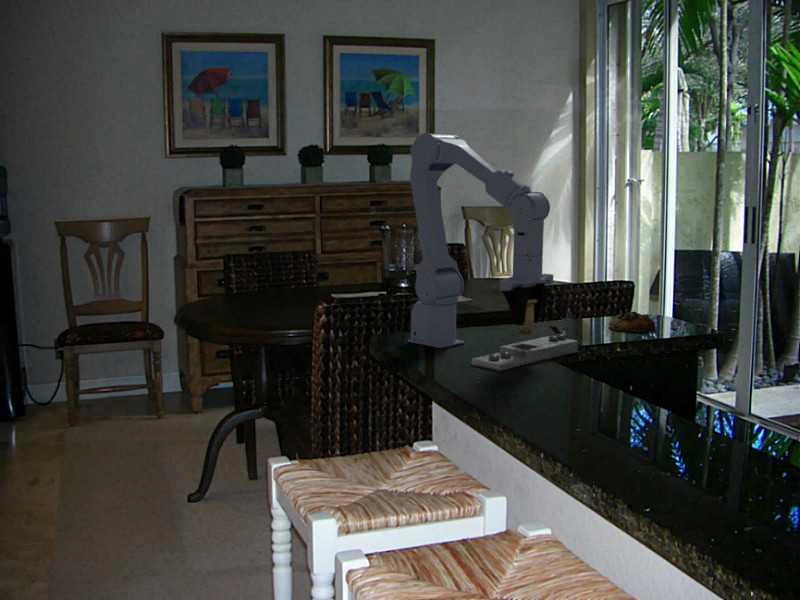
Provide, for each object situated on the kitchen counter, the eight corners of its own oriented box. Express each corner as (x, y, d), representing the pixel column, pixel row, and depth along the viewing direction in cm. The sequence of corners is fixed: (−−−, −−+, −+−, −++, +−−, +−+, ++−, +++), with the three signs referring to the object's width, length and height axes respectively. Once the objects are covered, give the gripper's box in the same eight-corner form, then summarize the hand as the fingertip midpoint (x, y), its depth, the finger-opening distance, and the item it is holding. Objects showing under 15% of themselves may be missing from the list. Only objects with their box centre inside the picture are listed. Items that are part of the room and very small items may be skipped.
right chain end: (499, 358, 188) (499, 342, 188) (549, 346, 200) (550, 332, 199) (527, 364, 183) (528, 347, 183) (577, 352, 195) (578, 336, 194)
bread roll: (666, 331, 219) (664, 310, 218) (626, 340, 215) (624, 319, 214) (637, 324, 229) (635, 304, 228) (598, 334, 225) (596, 313, 224)
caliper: (572, 342, 206) (574, 314, 205) (568, 342, 206) (569, 314, 205) (553, 325, 226) (554, 299, 225) (548, 325, 226) (549, 299, 225)
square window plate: (471, 364, 182) (471, 354, 182) (522, 353, 193) (522, 343, 193) (499, 370, 177) (500, 360, 177) (549, 358, 188) (550, 348, 188)
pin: (509, 332, 188) (510, 298, 186) (523, 329, 191) (524, 295, 189) (527, 336, 185) (528, 301, 183) (541, 333, 188) (542, 298, 186)
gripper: (521, 259, 177) (518, 330, 179) (566, 253, 187) (564, 321, 189) (491, 256, 182) (490, 325, 184) (538, 251, 192) (535, 317, 194)
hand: (525, 323), depth 187 cm, fingers closed on pin, 4 cm apart
